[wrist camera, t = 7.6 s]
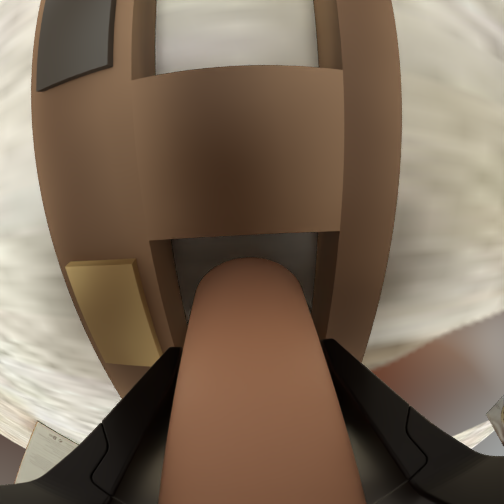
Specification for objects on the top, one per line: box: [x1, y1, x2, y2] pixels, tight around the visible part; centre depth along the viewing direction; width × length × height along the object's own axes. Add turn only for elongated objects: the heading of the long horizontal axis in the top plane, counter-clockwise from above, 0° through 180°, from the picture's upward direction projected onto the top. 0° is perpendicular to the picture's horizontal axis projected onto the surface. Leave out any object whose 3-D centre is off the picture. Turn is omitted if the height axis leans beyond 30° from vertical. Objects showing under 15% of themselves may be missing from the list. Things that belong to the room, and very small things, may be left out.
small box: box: [14, 422, 78, 484], centre depth 16 cm, size 8×6×13 cm
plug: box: [158, 257, 366, 504], centre depth 6 cm, size 4×4×8 cm
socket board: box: [31, 0, 402, 398], centre depth 8 cm, size 12×24×3 cm, turn 2°
